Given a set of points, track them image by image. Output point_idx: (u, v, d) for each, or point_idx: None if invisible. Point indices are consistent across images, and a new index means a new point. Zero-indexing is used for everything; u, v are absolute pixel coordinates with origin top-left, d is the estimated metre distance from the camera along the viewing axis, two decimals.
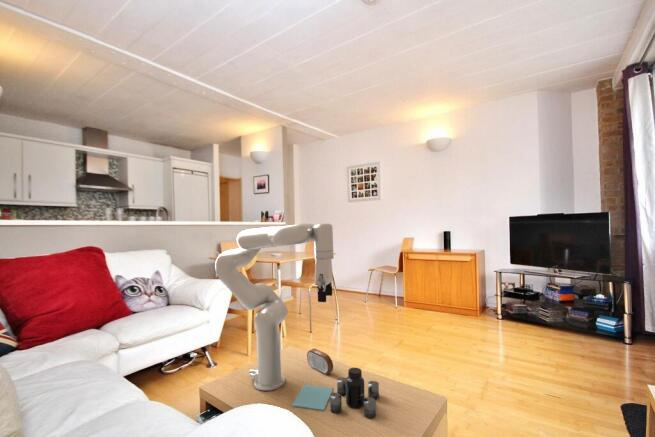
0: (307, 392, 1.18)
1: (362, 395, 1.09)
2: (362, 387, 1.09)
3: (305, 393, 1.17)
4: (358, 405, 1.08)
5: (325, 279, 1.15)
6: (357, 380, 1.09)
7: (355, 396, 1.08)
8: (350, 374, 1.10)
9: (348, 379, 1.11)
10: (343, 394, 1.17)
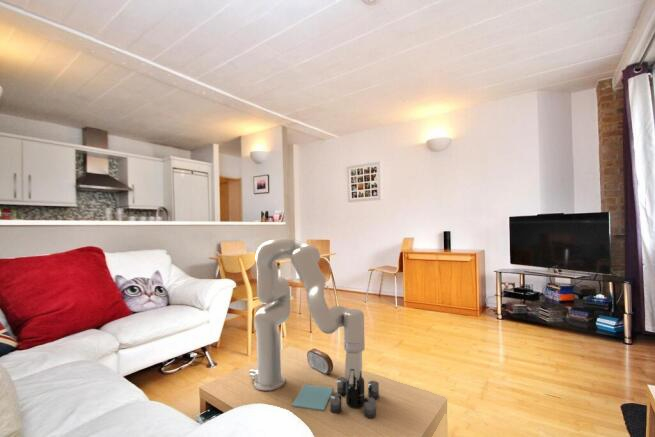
0: (307, 392, 1.18)
1: (362, 395, 1.09)
2: (362, 387, 1.09)
3: (305, 393, 1.17)
4: (358, 405, 1.08)
5: (356, 375, 1.07)
6: None
7: None
8: None
9: (348, 379, 1.11)
10: (343, 394, 1.17)
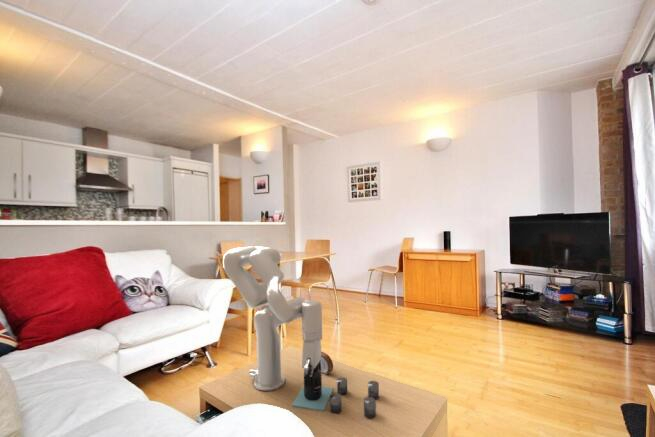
0: None
1: (318, 388, 1.14)
2: (318, 380, 1.14)
3: None
4: (314, 397, 1.13)
5: (312, 363, 1.11)
6: (313, 373, 1.14)
7: (311, 388, 1.13)
8: None
9: None
10: (343, 394, 1.17)
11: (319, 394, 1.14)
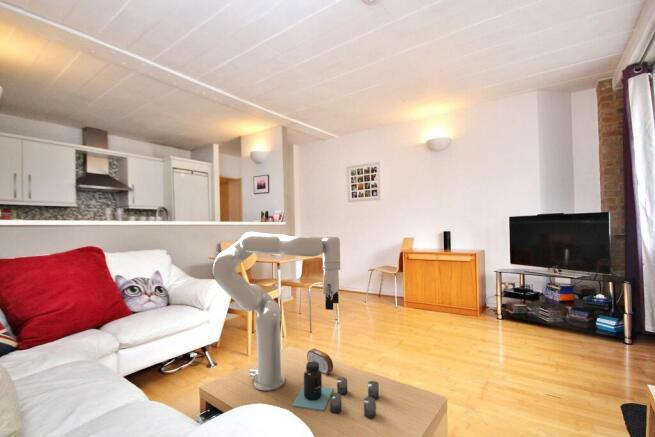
0: None
1: (318, 388, 1.14)
2: (318, 380, 1.14)
3: None
4: (314, 397, 1.13)
5: (332, 289, 1.25)
6: (313, 373, 1.14)
7: (311, 388, 1.13)
8: (307, 367, 1.15)
9: (306, 372, 1.15)
10: (343, 394, 1.17)
11: (319, 394, 1.14)
